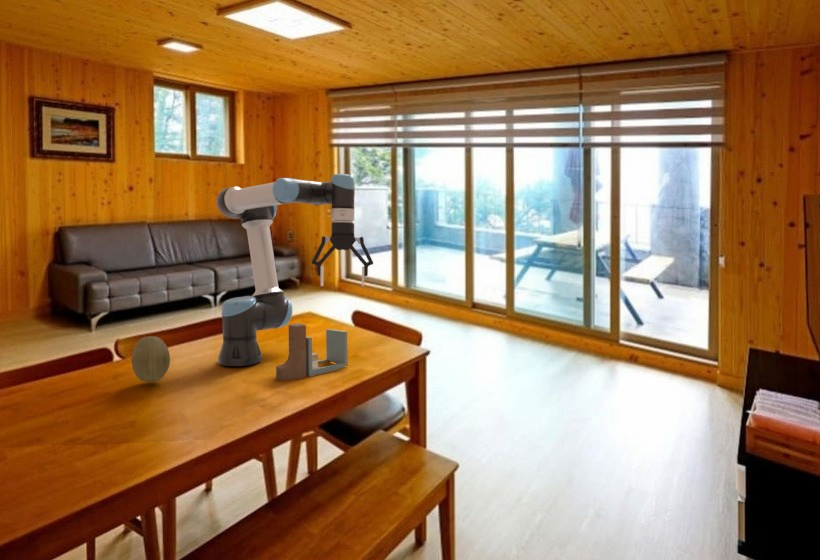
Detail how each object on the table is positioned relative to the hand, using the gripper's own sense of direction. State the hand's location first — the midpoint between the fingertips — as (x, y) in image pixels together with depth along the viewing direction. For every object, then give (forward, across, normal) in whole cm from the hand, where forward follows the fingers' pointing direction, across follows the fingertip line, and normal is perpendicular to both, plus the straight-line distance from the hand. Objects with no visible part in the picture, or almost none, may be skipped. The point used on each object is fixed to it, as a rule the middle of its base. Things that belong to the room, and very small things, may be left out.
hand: (342, 286), depth 183 cm
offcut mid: (+28, -12, +5) cm, 31 cm away
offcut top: (+26, -12, +5) cm, 29 cm away
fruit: (+31, -61, -2) cm, 69 cm away
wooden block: (+31, -17, -2) cm, 35 cm away
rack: (+30, -8, +8) cm, 32 cm away
